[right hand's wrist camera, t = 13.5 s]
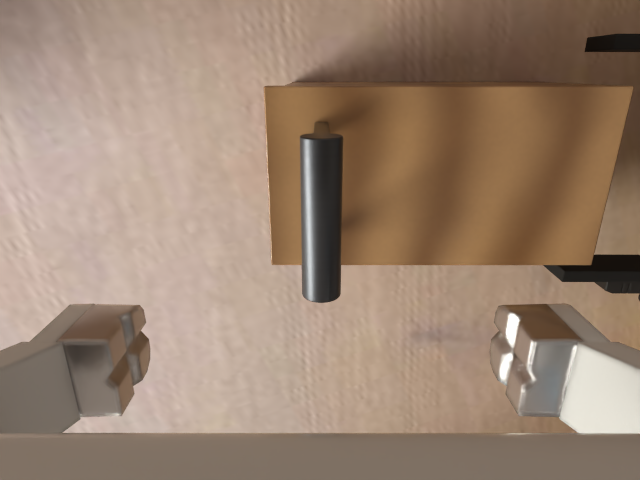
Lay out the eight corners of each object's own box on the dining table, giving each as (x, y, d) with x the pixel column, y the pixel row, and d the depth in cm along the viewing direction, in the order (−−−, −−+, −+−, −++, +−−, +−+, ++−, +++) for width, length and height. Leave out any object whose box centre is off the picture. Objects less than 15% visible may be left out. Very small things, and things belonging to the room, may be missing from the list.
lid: (273, 257, 26) (253, 335, 18) (266, 85, 23) (237, 92, 15) (580, 257, 26) (690, 336, 18) (619, 85, 23) (775, 92, 15)
